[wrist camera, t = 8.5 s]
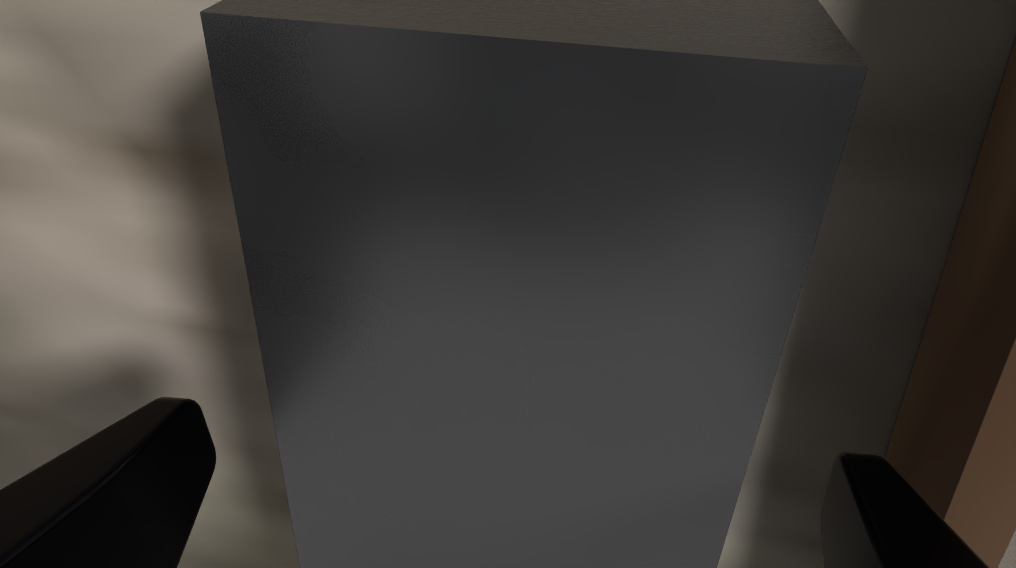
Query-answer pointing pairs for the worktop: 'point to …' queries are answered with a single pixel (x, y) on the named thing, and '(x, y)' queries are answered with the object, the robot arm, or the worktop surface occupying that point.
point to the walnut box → (971, 359)
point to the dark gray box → (524, 262)
